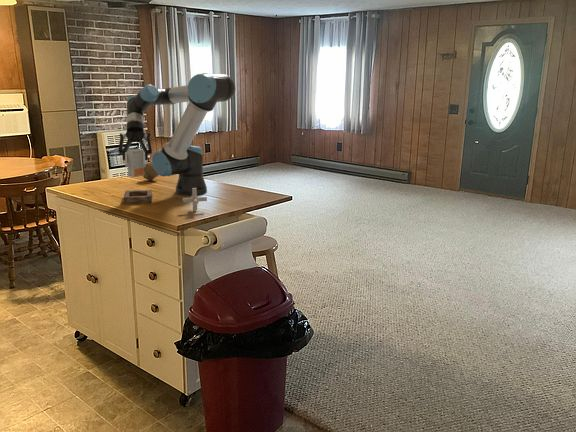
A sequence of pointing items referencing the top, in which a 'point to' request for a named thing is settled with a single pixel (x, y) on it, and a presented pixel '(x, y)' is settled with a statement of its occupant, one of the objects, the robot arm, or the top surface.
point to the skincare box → (135, 162)
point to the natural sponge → (149, 171)
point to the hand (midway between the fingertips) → (135, 165)
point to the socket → (137, 196)
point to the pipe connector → (194, 199)
